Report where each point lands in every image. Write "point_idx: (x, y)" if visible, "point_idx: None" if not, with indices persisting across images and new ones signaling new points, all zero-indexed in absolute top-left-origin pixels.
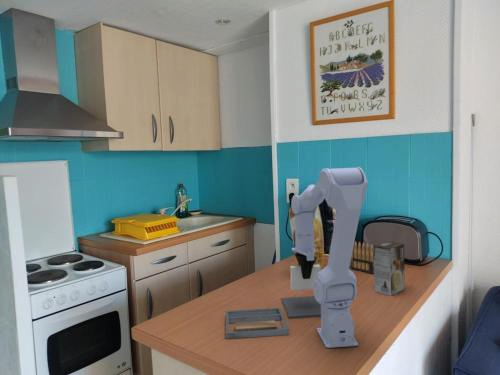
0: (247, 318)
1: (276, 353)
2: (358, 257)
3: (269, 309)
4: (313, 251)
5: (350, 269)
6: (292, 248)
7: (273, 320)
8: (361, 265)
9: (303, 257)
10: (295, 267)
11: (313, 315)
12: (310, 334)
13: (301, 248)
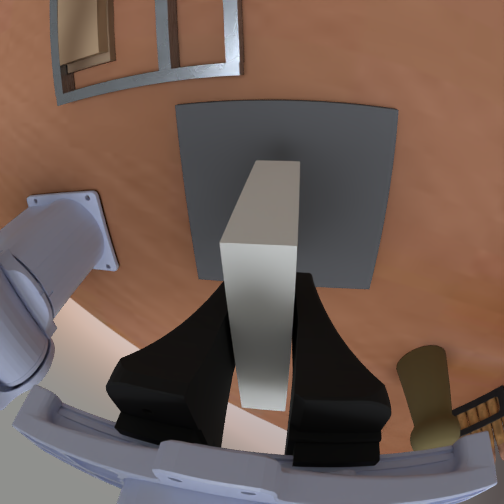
0: None
1: (3, 78)
2: (487, 428)
3: (224, 21)
4: (104, 481)
5: (412, 419)
6: (219, 487)
7: (98, 47)
8: (478, 414)
9: (135, 412)
10: (234, 280)
11: (188, 204)
12: (76, 167)
13: (120, 496)
